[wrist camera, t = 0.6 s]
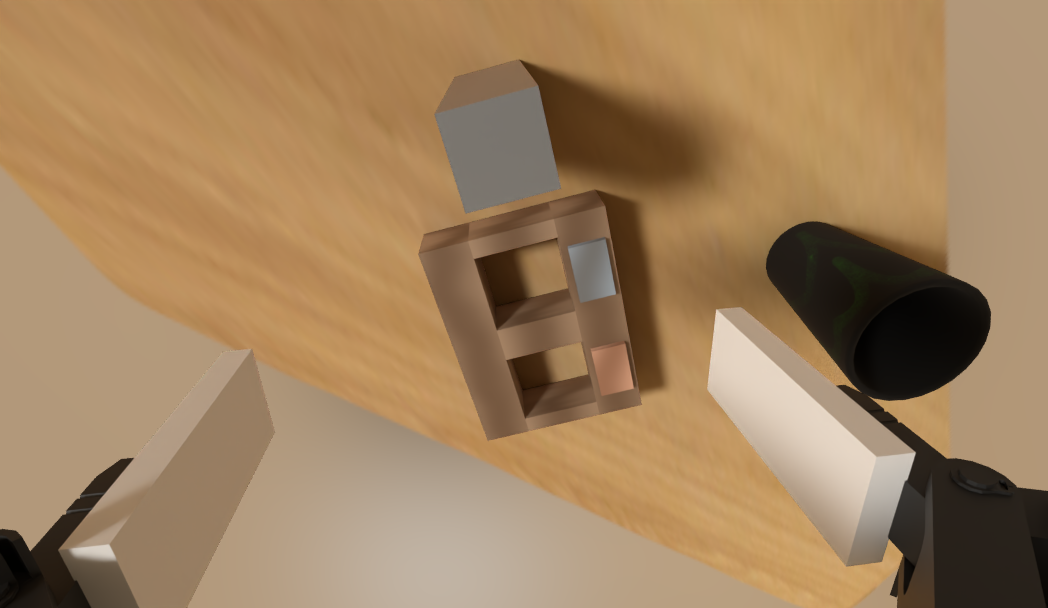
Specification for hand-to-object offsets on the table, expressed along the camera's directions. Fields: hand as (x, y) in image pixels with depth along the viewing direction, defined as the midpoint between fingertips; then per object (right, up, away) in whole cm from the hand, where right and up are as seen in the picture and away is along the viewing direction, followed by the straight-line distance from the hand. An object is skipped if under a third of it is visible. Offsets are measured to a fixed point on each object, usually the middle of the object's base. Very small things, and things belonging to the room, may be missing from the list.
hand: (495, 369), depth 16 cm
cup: (+21, +5, +24) cm, 33 cm away
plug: (-1, +14, +18) cm, 23 cm away
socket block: (+2, +1, +25) cm, 25 cm away
